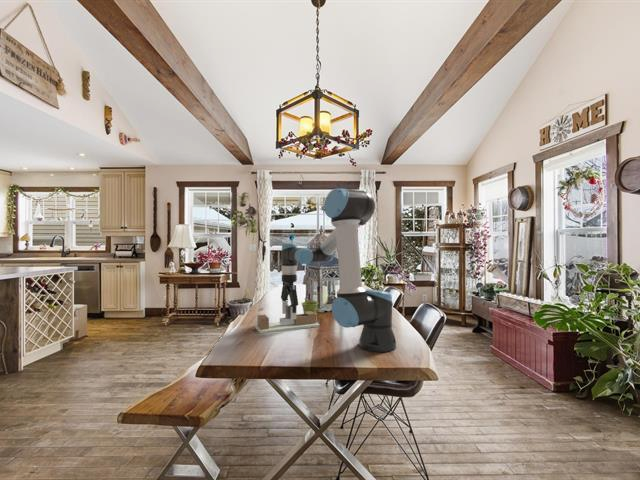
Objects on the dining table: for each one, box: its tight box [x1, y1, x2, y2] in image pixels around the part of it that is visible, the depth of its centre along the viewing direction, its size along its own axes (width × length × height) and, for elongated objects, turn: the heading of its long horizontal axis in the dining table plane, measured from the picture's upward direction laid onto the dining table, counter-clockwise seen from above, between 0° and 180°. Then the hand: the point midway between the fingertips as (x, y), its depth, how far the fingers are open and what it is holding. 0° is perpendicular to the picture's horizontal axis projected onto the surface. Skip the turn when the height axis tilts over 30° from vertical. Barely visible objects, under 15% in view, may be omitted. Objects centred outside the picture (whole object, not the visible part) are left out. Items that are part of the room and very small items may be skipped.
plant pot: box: [301, 301, 319, 315], centre depth 188 cm, size 9×9×9 cm
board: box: [254, 311, 320, 335], centre depth 170 cm, size 12×30×6 cm, turn 114°
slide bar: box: [279, 304, 300, 326], centre depth 172 cm, size 3×17×9 cm, turn 114°
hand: (289, 316), depth 171 cm, fingers open, 13 cm apart
